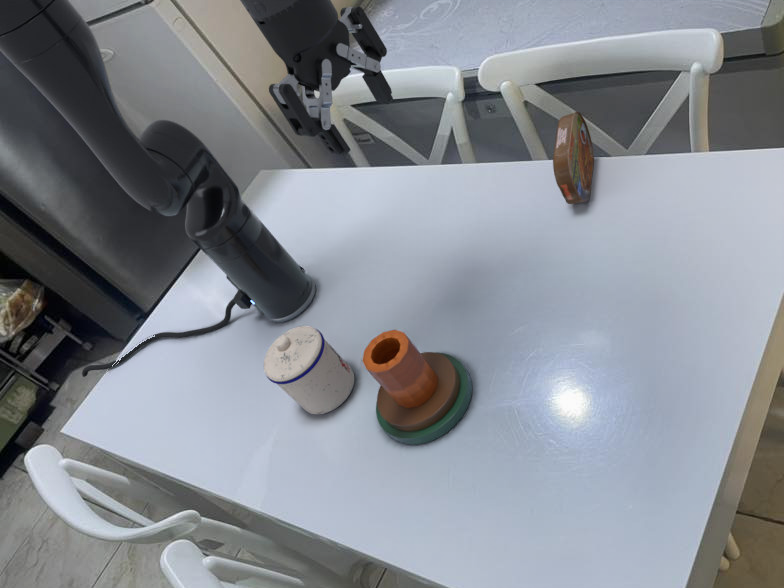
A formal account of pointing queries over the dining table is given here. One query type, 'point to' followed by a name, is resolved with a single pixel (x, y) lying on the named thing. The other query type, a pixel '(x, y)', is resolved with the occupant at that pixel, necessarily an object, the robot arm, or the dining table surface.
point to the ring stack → (428, 404)
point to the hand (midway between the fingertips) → (365, 127)
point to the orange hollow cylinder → (400, 368)
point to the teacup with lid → (309, 370)
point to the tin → (573, 158)
